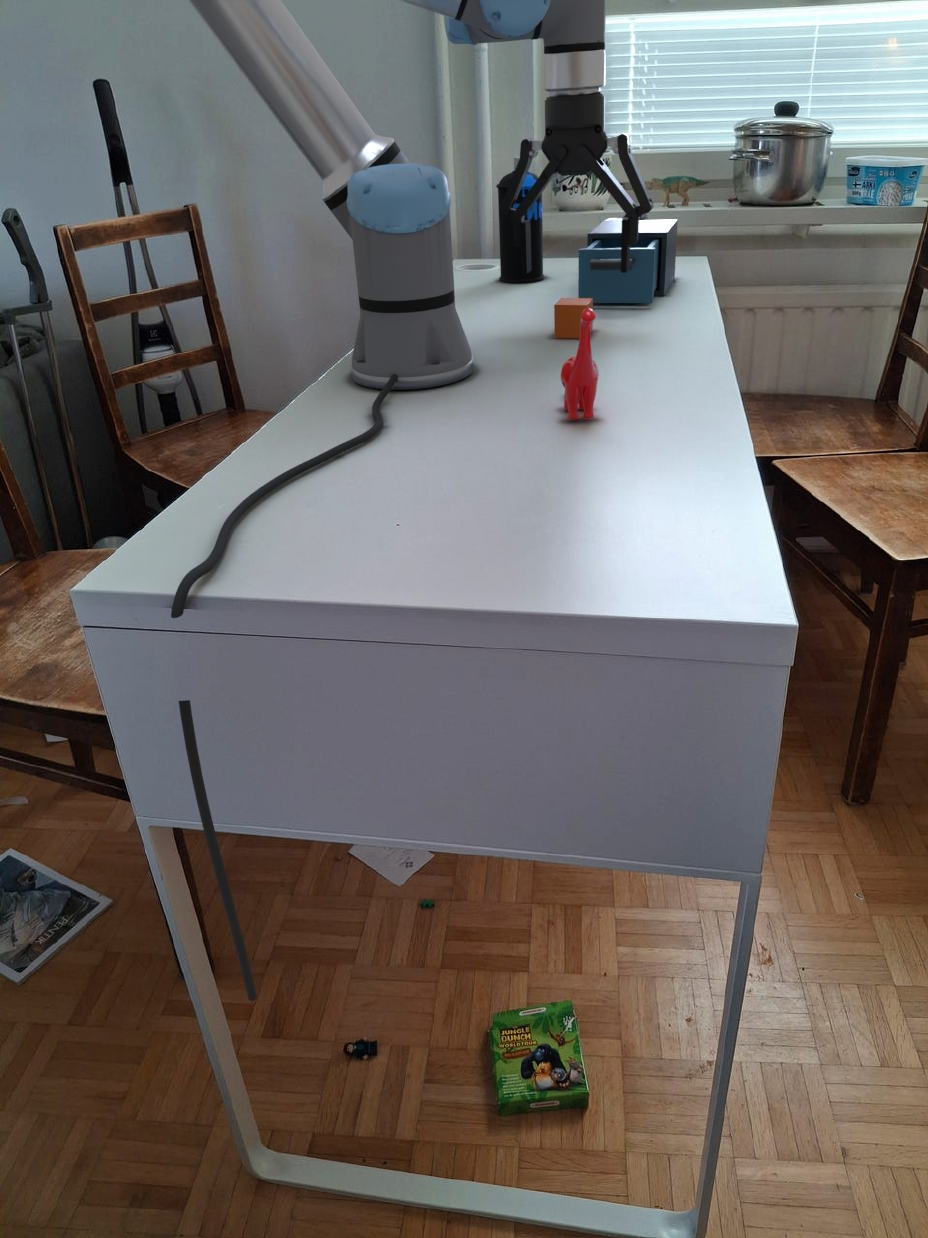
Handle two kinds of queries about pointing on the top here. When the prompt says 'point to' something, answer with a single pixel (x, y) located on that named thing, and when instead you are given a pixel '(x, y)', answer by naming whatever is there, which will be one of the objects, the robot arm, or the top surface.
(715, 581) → the top surface
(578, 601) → the top surface
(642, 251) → the drawer
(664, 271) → the cabinet
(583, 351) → the dinosaur
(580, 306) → the cube
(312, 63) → the robot arm
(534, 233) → the aerosol can
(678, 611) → the top surface
